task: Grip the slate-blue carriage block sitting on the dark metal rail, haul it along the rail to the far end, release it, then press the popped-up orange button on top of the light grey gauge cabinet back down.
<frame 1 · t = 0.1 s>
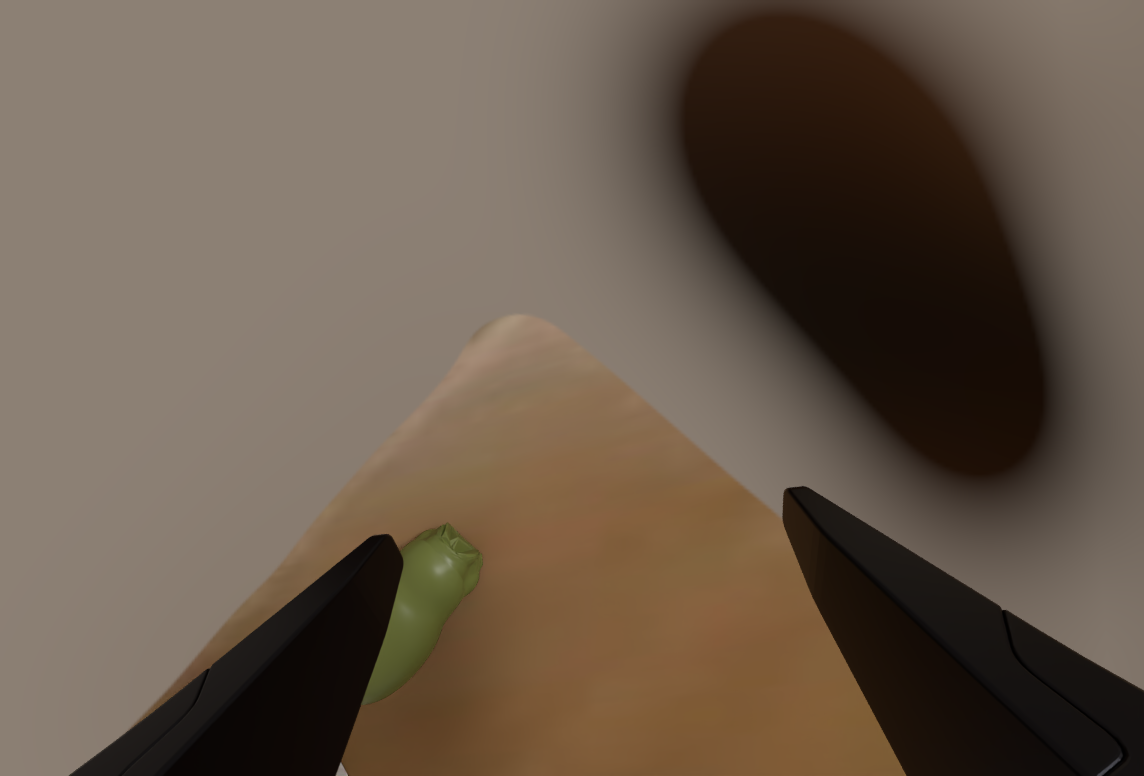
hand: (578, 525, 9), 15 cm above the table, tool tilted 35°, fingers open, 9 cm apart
green eggplant: (427, 588, 25), on the table
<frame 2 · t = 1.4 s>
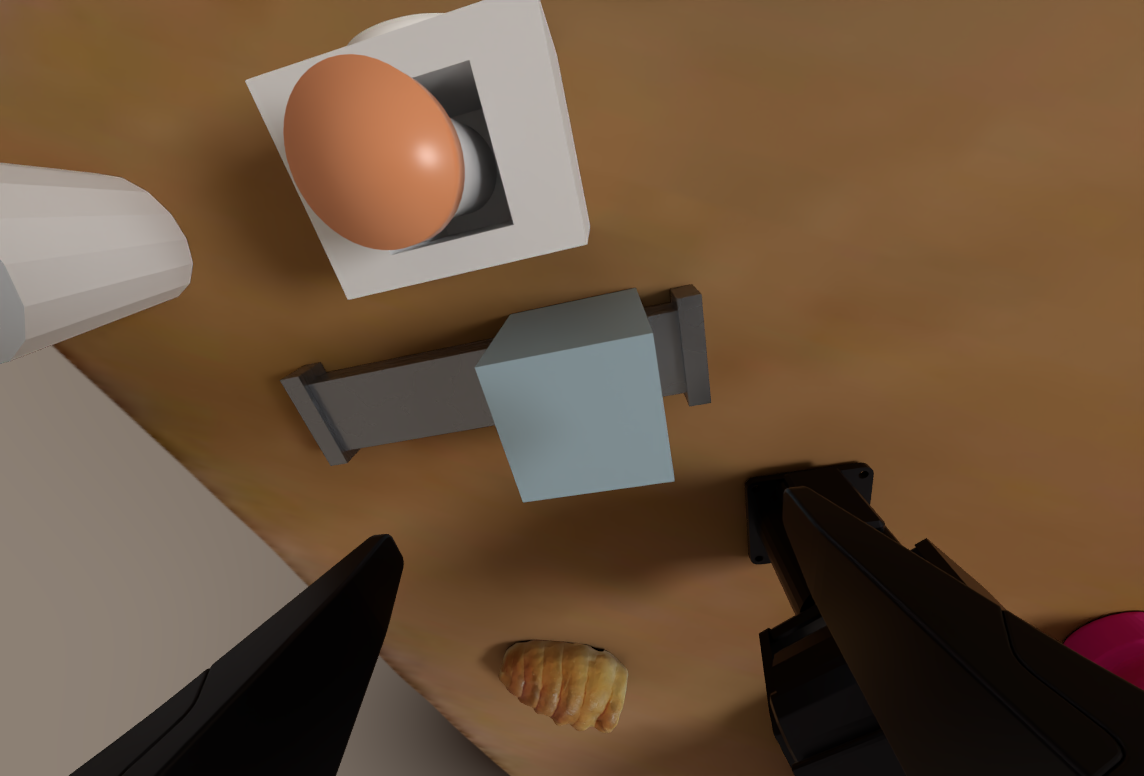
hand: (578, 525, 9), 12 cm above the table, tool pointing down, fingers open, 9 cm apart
carriage: (583, 388, 17), point 3 cm above the table, slide at 0.0 cm
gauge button: (422, 166, 11), point 6 cm above the table, slide at 0.0 cm
gauge cabinet: (480, 172, 17), on the table
pastry: (570, 661, 32), on the table
shot glass: (134, 241, 19), on the table
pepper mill: (1110, 637, 27), on the table
rail: (499, 375, 21), on the table
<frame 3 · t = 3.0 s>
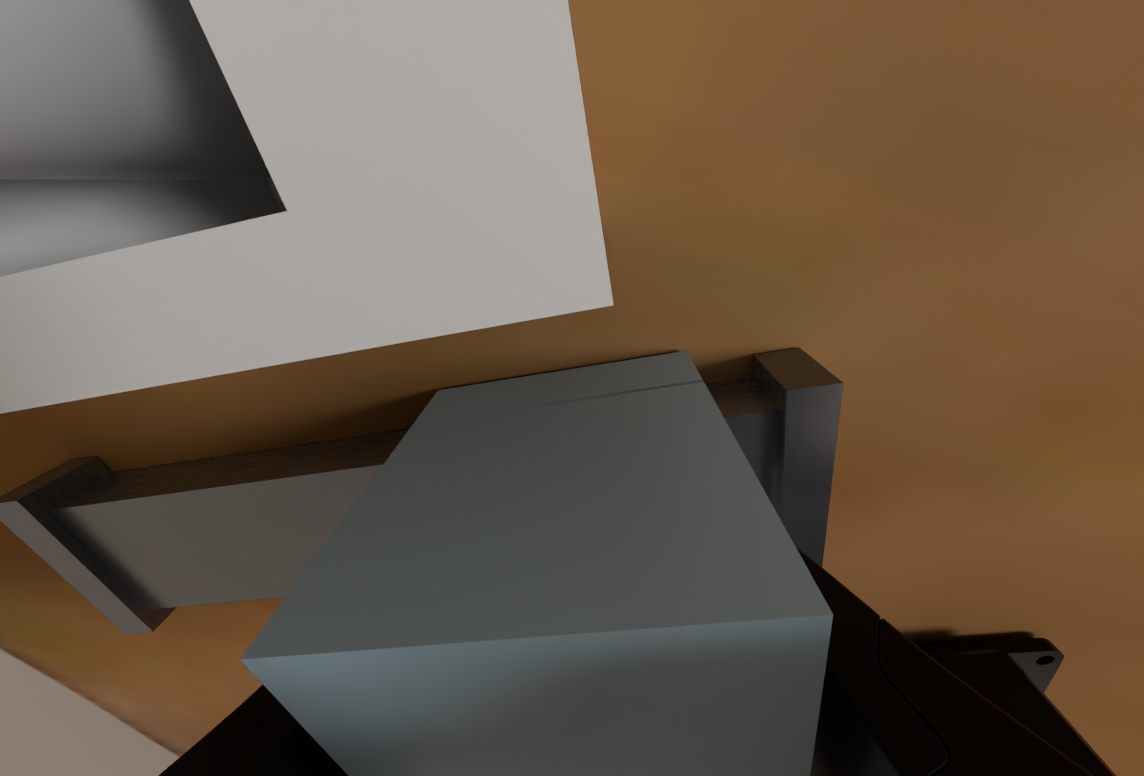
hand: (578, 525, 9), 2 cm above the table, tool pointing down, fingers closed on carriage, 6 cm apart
carriage: (576, 572, 8), point 3 cm above the table, slide at 0.0 cm, touching gripper
gauge cabinet: (354, 93, 7), on the table
rail: (424, 489, 12), on the table
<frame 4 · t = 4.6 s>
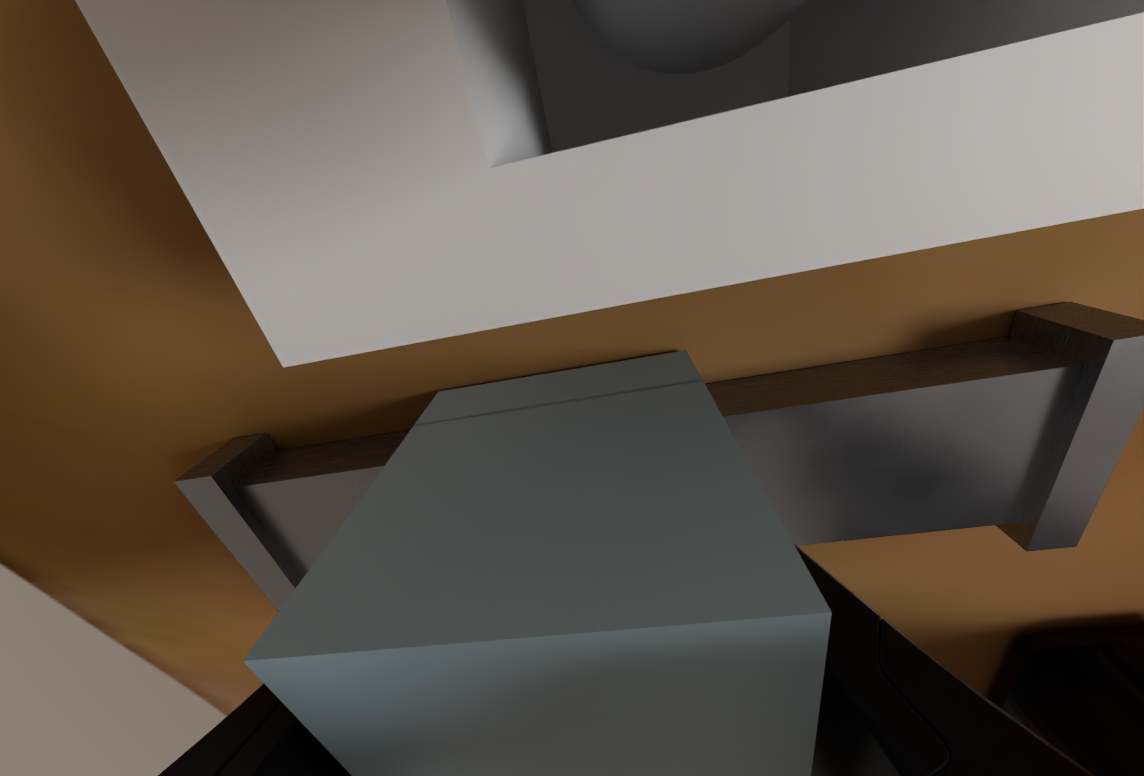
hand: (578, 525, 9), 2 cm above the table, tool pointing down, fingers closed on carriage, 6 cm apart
carriage: (577, 571, 8), point 3 cm above the table, slide at 5.4 cm, touching gripper
gauge cabinet: (651, 15, 7), on the table
rail: (614, 464, 11), on the table
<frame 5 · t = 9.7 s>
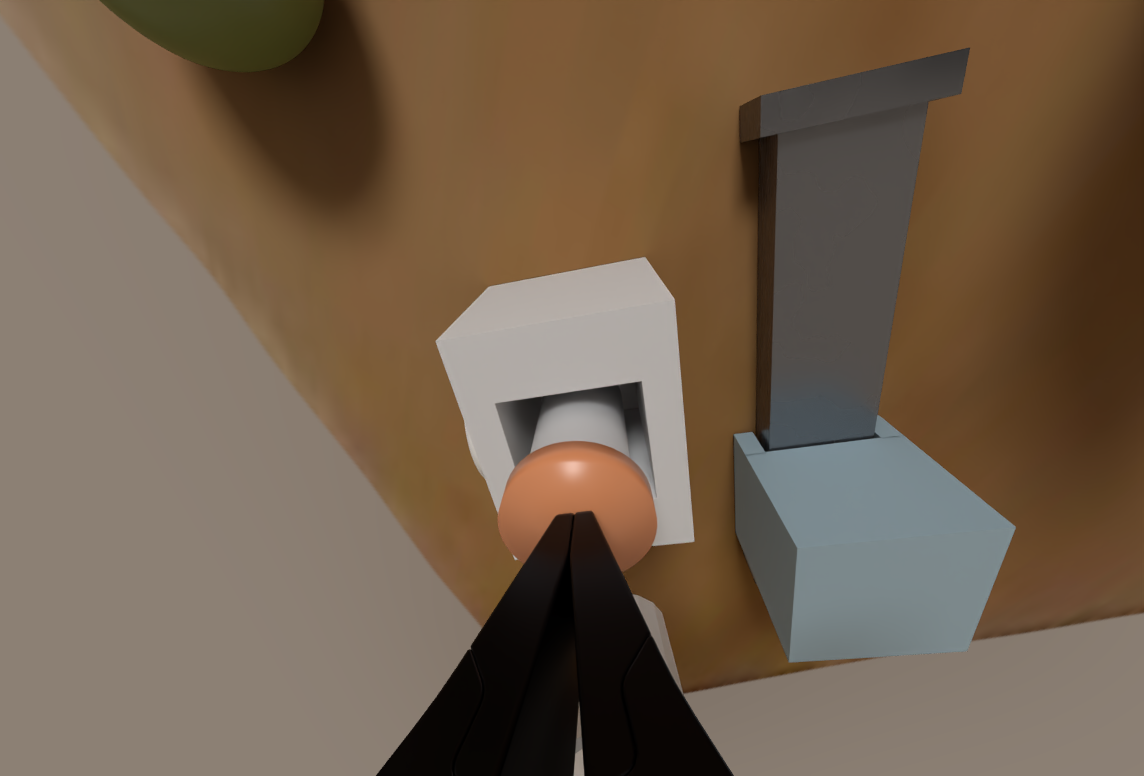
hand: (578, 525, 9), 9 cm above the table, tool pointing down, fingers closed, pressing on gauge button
carriage: (836, 530, 16), point 3 cm above the table, slide at 9.8 cm
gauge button: (580, 450, 12), point 6 cm above the table, slide at 0.4 cm, touching gripper
gauge cabinet: (583, 368, 17), on the table
shot glass: (617, 619, 25), on the table
rail: (806, 377, 17), on the table
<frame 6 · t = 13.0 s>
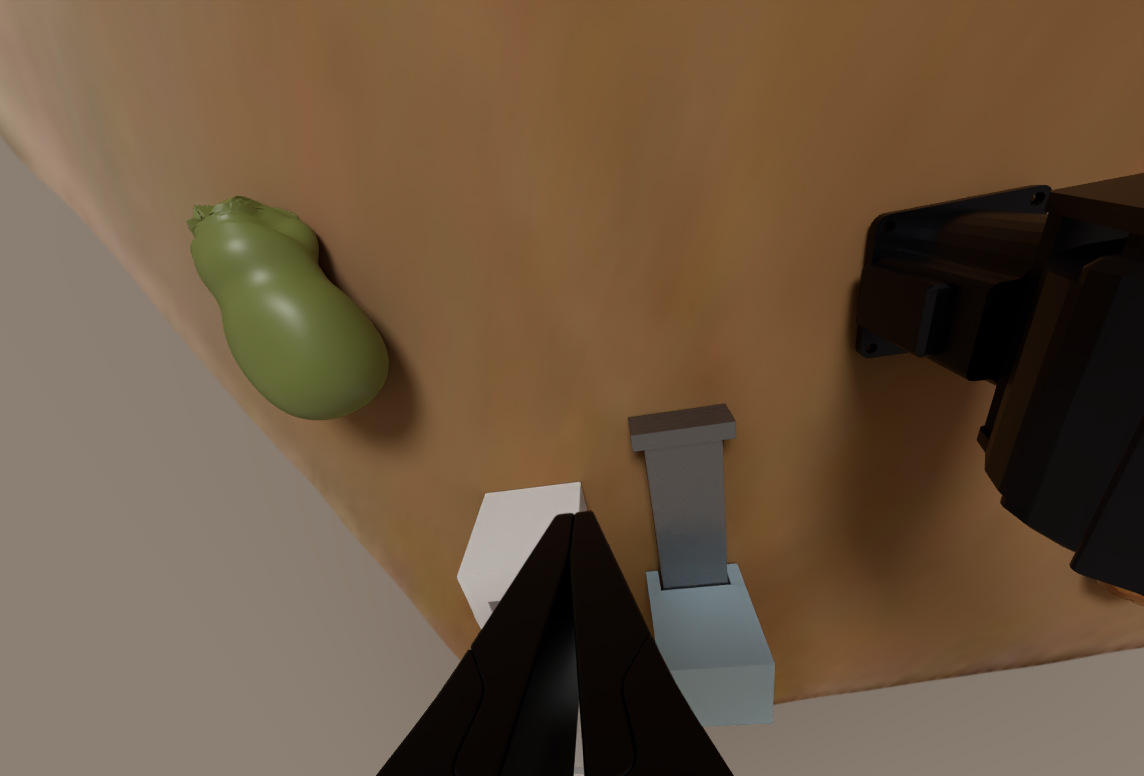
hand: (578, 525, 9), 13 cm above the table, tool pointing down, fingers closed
carriage: (704, 642, 26), point 3 cm above the table, slide at 9.8 cm
green eggplant: (324, 299, 20), on the table
gauge cabinet: (546, 534, 27), on the table
shot glass: (579, 678, 34), on the table
rail: (688, 542, 26), on the table
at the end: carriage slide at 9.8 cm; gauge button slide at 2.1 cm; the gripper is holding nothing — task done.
